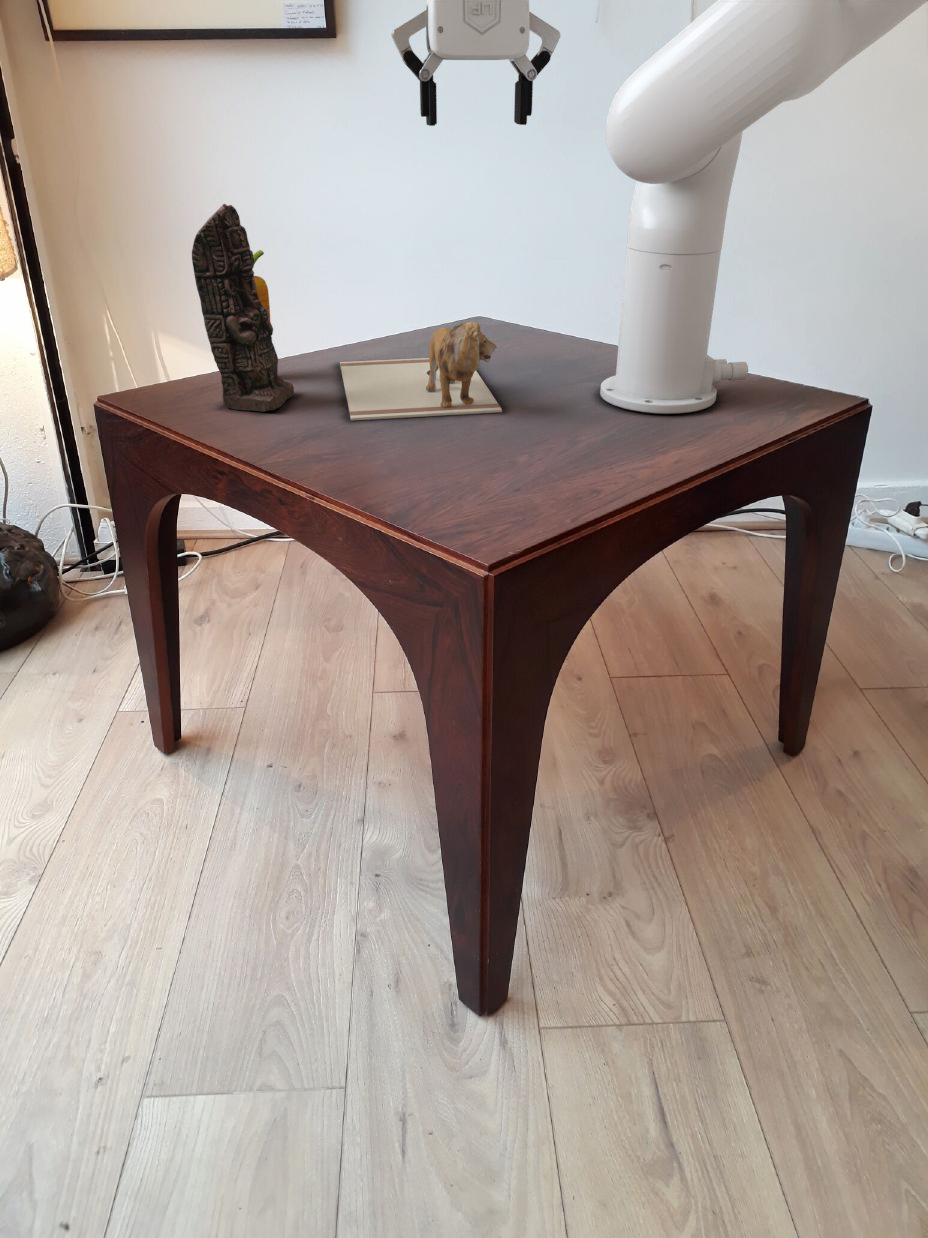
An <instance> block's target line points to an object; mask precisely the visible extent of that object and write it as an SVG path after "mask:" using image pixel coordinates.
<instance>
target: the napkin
mask: <svg viewBox="0 0 928 1238" xmlns="http://www.w3.org/2000/svg"><path fill="white" fill-rule="evenodd" d="M339 366H340V371H341V376H342V377H341V378H342V382H343V386H344V392H345V397H346V402H347V408H348V413H349V418H350V421H351V422H352V421H370V420H387V419H388V420H389V419H405V418H406V419H407V418H422V417H441V416H460V415H475V414H476V415H477V414H493V413H494V414H495V413H503V409H502V407H501V405H500V404H499V403H498V402H497V400H496V398H495V397H494V395H493V393H492V392H491V391H490V389H489V388H488V386H487V385H486V383H485V382H484V380H483V379H482V377H481V376H480V374H479V372H478V370H476V371H475V372H474V374H473V377H472V378H471V383H470V387H469V397H471V398H473V399H474V402H473V403H471V404H465V403H463V402H462V401H461V399H460V392H461V388H462V381H456V380H455V382H453V383H452V382H451V383H450V396H451V399H452V403H451V404H452V406H451V407H449V408H444V407H441V405H440V403H441V402H442V392H441V384H440V370H439V368H438V370H437V371H436V374H437V375H436V381H435V384H436V390H434V391H427V390H426V386H427V385H428V382H429V375H428V374H427V372H428V371H429V370H430V363H429V357H419V358H417V357H415V358H397V359H396V358H395V359H374V360H353V361H339Z"/></svg>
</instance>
